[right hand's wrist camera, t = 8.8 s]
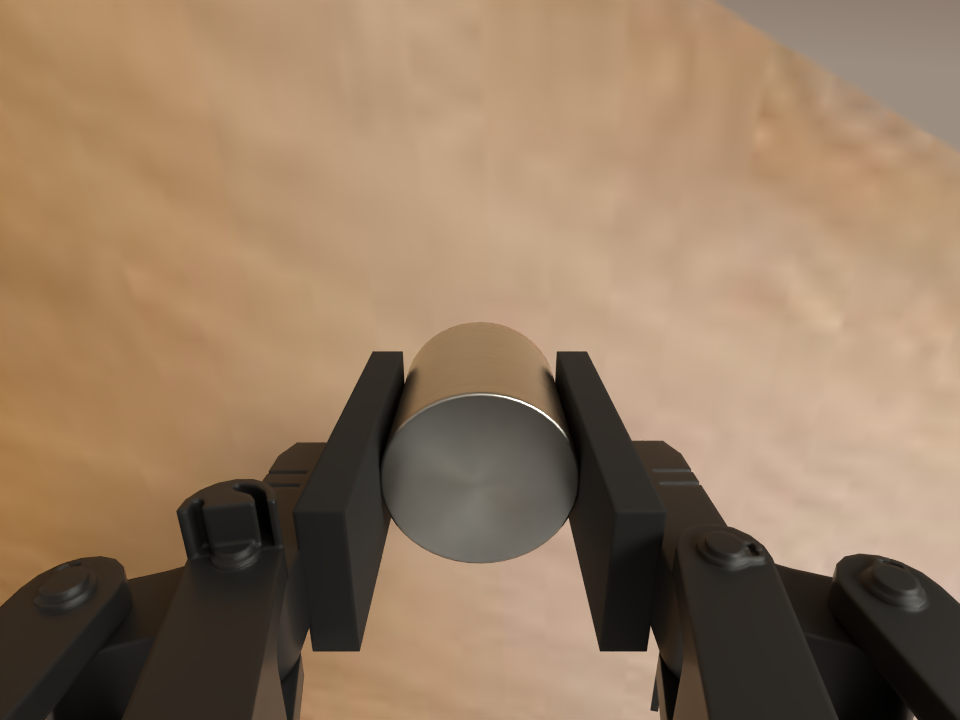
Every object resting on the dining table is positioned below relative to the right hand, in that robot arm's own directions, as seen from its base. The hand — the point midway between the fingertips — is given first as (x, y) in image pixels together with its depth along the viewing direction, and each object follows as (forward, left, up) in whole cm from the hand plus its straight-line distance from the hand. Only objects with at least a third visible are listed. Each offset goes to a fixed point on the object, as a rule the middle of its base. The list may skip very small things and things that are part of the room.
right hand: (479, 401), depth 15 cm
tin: (0, 0, 0) cm, 0 cm away
